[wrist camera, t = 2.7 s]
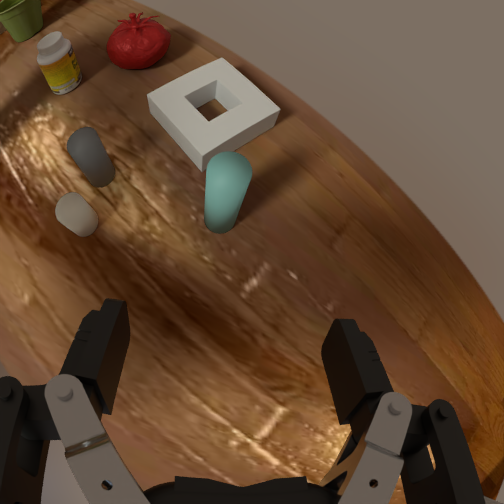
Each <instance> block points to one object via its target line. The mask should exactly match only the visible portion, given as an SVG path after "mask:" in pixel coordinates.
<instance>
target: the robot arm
mask: <svg viewBox="0 0 504 504" xmlns="http://www.w3.org/2000/svg"><path fill="white" fill-rule="evenodd" d="M129 341H130V325H129V318H128V311H127V304H126V301H122V300H116V299H109V298H106V299H105V301H104V303H103V305H102V307H101V310H100V311H97V310H92V311H91V312H89V313H88V314H87V315H86V316H85V317H84V318H83V320H82V322H81V324H80V326H79V329H78V331H77V333H76V335H75V339H74V340H73V342H72V345H71V347H70V349H69V352H68V354H67V357H66V359H65V362H64V364H63V367H62V369H61V371H60V373H59V375H57V376H55V377H53V378H52V379H51V380H50V381H49V382H48V383H47V384H45V385H35V386H22V385H21V383H20V382H19V381H18V380H17V379H16V378H14V377H10V376H5V377H2V378H0V504H41V493H42V486H43V479H44V472H45V466H46V460H47V454H48V449H49V444H50V440H62V443H63V445H64V447H65V451H66V452H65V457H66V460H67V462H68V464H69V466H70V469H71V471H72V473H73V475H74V477H75V479H76V480H77V482H78V484H79V486H80V488H81V490H82V492H83V493H84V495H85V497H86V499H87V500H88V502H89V504H388V503H389V501H390V498H391V496H392V493H393V491H394V488H395V486H396V483H397V481H398V478H399V475H401V480H402V484H403V489H404V493H405V498H406V503H407V504H486V503H485V499H484V495H483V492H482V488H481V485H480V481H479V478H478V474H477V471H476V468H475V465H474V462H473V459H472V456H471V453H470V450H469V447H468V444H467V441H466V439H465V436H464V433H463V430H462V428H461V425H460V423H459V420H458V417H457V415H456V412H455V410H454V408H453V407H452V405H451V404H450V403H449V402H447V401H445V400H442V399H437V400H434V401H433V402H432V403H431V404H430V405H429V406H428V407H426V406H419V405H413V404H410V402H409V400H408V399H407V398H406V397H405V396H403V395H402V394H400V393H397V392H394V391H393V388H392V386H391V384H390V381H389V379H388V376H387V374H386V371H385V369H384V367H383V364H382V362H381V361H380V357H379V355H378V353H377V350H376V348H375V346H374V343H373V341H372V340H371V339H370V338H369V337H368V336H367V334H366V333H365V332H360V330H359V328H358V326H357V323H356V321H355V320H354V319H335V320H334V321H333V323H332V325H331V327H330V330H329V332H328V334H327V336H326V338H325V340H324V342H323V345H322V350H321V356H322V360H323V364H324V368H325V371H326V375H327V379H328V382H329V386H330V390H331V393H332V397H333V401H334V405H335V408H336V412H337V416H338V420H339V424H340V425H344V424H350V426H351V430H352V431H351V432H350V434H349V436H348V438H347V440H346V442H345V444H344V446H343V447H342V449H341V451H340V453H339V455H338V457H337V459H336V461H335V462H334V464H333V466H332V468H331V469H330V471H329V472H328V473H327V474H326V475H325V476H324V478H323V479H322V480H321V482H320V483H319V485H316V484H312V483H308V482H307V479H306V476H303V477H292V478H279V479H273V480H269V481H266V482H262V483H258V484H254V485H250V486H246V487H239V486H235V485H231V484H226V483H222V482H219V481H215V480H211V479H205V478H191V477H180V476H175V482H167V483H163V484H159V485H156V486H153V487H151V488H149V489H147V490H146V491H144V492H143V490H142V489H141V487H140V486H139V484H138V483H137V482H136V480H135V479H134V477H133V476H132V474H131V472H130V471H129V469H128V468H127V466H126V465H125V463H124V462H123V460H122V458H121V457H120V455H119V453H118V452H117V450H116V448H115V447H114V445H113V443H112V441H111V440H110V438H109V436H108V434H107V432H106V430H105V429H104V427H103V425H102V423H101V417H102V413H104V414H108V415H111V413H112V409H113V404H114V400H115V396H116V392H117V388H118V383H119V379H120V376H121V372H122V368H123V364H124V360H125V357H126V353H127V349H128V346H129ZM429 444H430V447H431V450H432V453H433V457H434V460H435V464H436V468H435V471H434V468H433V465H432V461H431V458H430V454H429V451H428V448H427V445H429Z"/></svg>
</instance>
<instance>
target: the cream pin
mask: <svg viewBox="0 0 504 504" xmlns="http://www.w3.org/2000/svg"><path fill="white" fill-rule="evenodd" d="M55 213H56V217H57V219H58V221H59V222H61V223H62V224H63V225H64V226H66V227H67V228H68V229H70V230H71V231H73V232H74V233H75V234H77V235H78V236H81V237H86V236H89V235H91V234H92V233H93V232H94V231H95V230H96V228H97V225H98V215H97V213H96V212H95V211H94V210H93V209H92V207H91V206H90V205H89V204H88V203H87V202H86V201H85V200H84V199H83V197H82V196H81V195H80V194H78V193H75V192H70V193H67V194H65V195H64V196H62V197H61V198H60V200H59V201H58V203H57V205H56V210H55Z"/></svg>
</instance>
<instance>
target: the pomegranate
mask: <svg viewBox="0 0 504 504" xmlns="http://www.w3.org/2000/svg"><path fill="white" fill-rule="evenodd" d="M142 14H143V12H142V13H139V14H138V17H137V18H136V14H135V13H130V14H129V17H130V18H131V20H118V22H123V23H121V24H120V25H119V26H118V27H117V28H116V29H115V30H114V32H113V33H112V35H111V36H110V38H109V41H108V43H107V52H108V55H109V57H110V60H111V61H112V62H113V63H114V64H115V65H118V66H119V67H120V68H123V69H143V68H147V67H149V66H151V65H153V64H154V63H156V62H157V61H158V60H160V59H161V58H162V57H163V56H164V55H165V53H166V51H167V49H168V47H169V44H170V37H171V34H170V33H169V32H168V31H167V30H165V29H164V27H163V26H162V25H160V24H159V23H158V22H156V21H154V20H151V19H150V18H153V17H158V16H152V17H149V18H142V19H140V15H142Z"/></svg>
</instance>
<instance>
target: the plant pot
mask: <svg viewBox="0 0 504 504" xmlns="http://www.w3.org/2000/svg"><path fill="white" fill-rule="evenodd" d="M0 21H1V22H2V24H3V25H4V27H5V28H6V29H7V31H8V32H9V33H10V35H11V36H12V37H13V39H14V40H15V41H17V42H22V41H25V40H27V39H29V38H31V37H32V36H33V35H34V34H35V33H36V32H38V31H39V30H40V29H41V28H42V26H43V19H42V11H41V1H40V0H2V1H1V2H0Z"/></svg>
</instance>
